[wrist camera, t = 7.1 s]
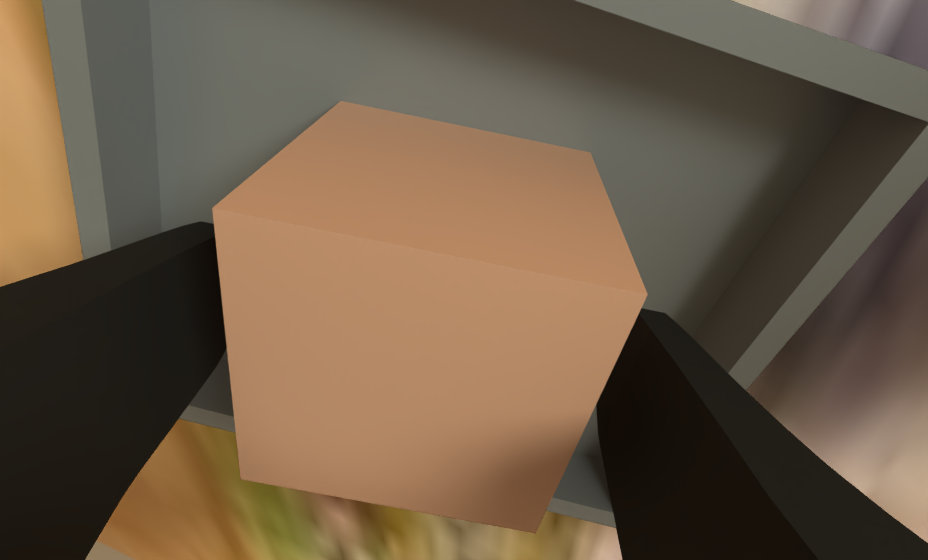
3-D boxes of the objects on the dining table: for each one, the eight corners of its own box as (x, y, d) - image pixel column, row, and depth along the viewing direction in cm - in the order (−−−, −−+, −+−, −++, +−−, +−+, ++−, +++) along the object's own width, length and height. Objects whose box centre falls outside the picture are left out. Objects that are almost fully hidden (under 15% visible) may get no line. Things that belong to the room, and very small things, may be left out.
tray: (899, 67, 9) (998, 95, 7) (612, 462, 16) (626, 530, 14) (119, -209, 8) (0, -259, 6) (157, 343, 14) (105, 400, 13)
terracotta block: (590, 152, 10) (647, 294, 6) (527, 342, 13) (535, 532, 8) (340, 101, 10) (212, 208, 6) (331, 304, 12) (240, 479, 8)
